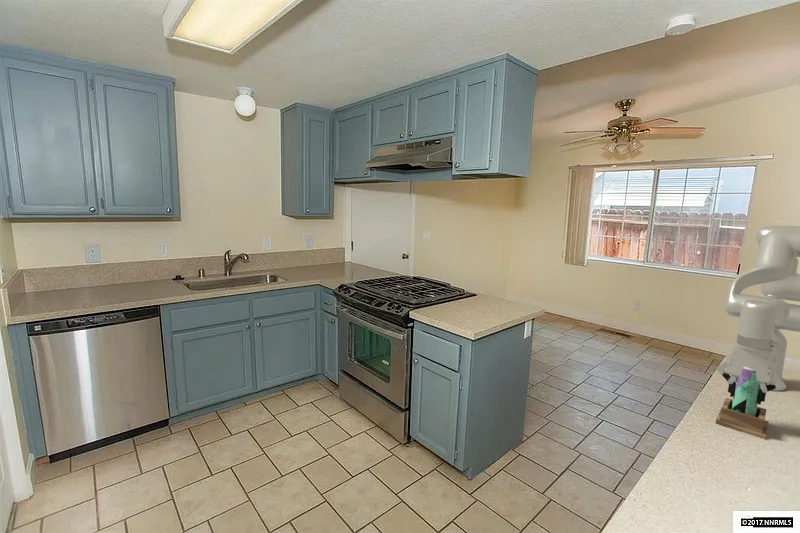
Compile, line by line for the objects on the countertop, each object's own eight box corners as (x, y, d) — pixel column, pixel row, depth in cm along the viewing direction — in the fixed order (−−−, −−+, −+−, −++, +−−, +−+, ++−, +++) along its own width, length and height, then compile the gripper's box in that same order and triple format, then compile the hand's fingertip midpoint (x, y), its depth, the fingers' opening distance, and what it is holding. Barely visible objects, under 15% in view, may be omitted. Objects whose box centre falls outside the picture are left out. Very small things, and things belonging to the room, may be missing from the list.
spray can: (745, 413, 116) (754, 353, 113) (759, 423, 111) (769, 360, 108) (726, 412, 117) (734, 352, 114) (740, 422, 111) (749, 359, 108)
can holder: (721, 410, 122) (723, 396, 121) (768, 424, 114) (770, 409, 113) (715, 423, 114) (717, 408, 114) (765, 439, 106) (767, 423, 106)
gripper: (796, 346, 106) (786, 405, 109) (718, 332, 119) (711, 385, 122) (795, 353, 101) (785, 415, 104) (714, 337, 114) (707, 393, 117)
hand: (745, 398), depth 113 cm, fingers closed on spray can, 5 cm apart
